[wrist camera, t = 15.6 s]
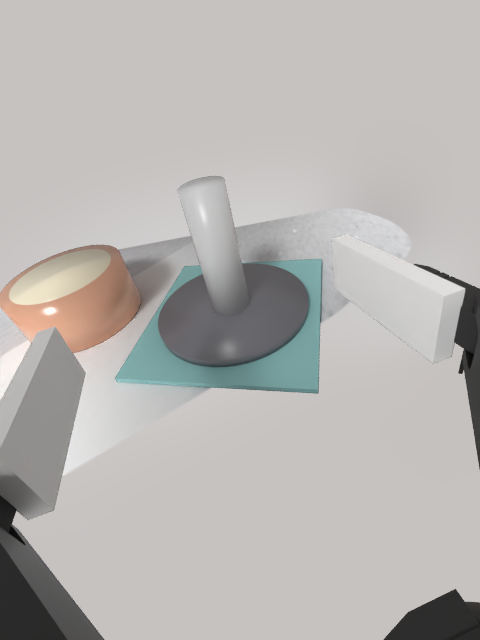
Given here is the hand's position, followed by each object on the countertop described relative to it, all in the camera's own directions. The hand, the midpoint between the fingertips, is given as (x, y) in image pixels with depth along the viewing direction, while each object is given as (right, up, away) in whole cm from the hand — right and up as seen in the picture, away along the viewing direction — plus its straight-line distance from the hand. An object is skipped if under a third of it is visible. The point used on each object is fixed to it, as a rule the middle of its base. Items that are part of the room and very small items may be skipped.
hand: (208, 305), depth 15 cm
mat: (+1, 0, +13) cm, 13 cm away
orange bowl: (-14, 0, +17) cm, 22 cm away
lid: (+1, 0, +13) cm, 13 cm away
